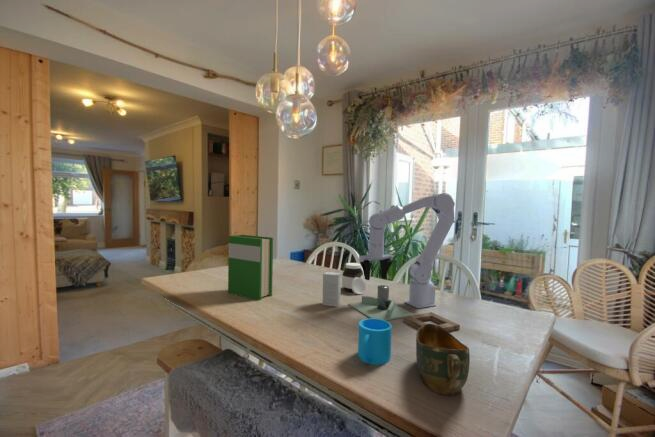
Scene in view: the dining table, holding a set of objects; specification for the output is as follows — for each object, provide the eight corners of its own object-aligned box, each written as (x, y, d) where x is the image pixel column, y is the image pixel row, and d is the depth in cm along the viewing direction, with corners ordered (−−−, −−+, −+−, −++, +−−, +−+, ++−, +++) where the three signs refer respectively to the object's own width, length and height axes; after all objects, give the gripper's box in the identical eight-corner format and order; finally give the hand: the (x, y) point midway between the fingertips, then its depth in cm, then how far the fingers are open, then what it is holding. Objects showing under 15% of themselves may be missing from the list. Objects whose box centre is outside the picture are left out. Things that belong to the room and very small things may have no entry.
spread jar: (351, 286, 144) (351, 261, 143) (372, 290, 137) (373, 264, 136) (336, 291, 134) (337, 265, 133) (359, 296, 127) (360, 268, 127)
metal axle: (387, 306, 113) (387, 285, 113) (389, 310, 109) (389, 288, 109) (376, 306, 113) (377, 285, 113) (377, 310, 109) (378, 288, 109)
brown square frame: (431, 316, 106) (431, 312, 106) (459, 329, 95) (459, 324, 95) (403, 321, 101) (404, 316, 101) (430, 335, 90) (430, 330, 90)
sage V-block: (382, 300, 123) (383, 292, 123) (415, 315, 106) (415, 307, 106) (348, 304, 116) (348, 296, 116) (376, 322, 99) (377, 313, 99)
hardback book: (272, 295, 125) (273, 237, 124) (259, 300, 119) (260, 239, 118) (241, 288, 134) (242, 234, 133) (228, 292, 128) (228, 235, 127)
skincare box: (340, 303, 117) (341, 273, 116) (337, 307, 113) (338, 275, 112) (325, 301, 119) (326, 271, 118) (321, 305, 115) (322, 273, 114)
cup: (393, 389, 63) (395, 341, 62) (422, 353, 79) (424, 314, 79) (460, 415, 56) (463, 360, 55) (476, 369, 72) (479, 327, 72)
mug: (365, 345, 82) (366, 316, 82) (395, 354, 78) (396, 322, 78) (345, 365, 72) (346, 331, 72) (377, 375, 68) (378, 339, 67)
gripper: (385, 242, 125) (384, 275, 126) (355, 243, 119) (354, 277, 120) (396, 244, 119) (395, 279, 120) (364, 245, 113) (363, 282, 113)
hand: (375, 278), depth 119 cm, fingers open, 7 cm apart
